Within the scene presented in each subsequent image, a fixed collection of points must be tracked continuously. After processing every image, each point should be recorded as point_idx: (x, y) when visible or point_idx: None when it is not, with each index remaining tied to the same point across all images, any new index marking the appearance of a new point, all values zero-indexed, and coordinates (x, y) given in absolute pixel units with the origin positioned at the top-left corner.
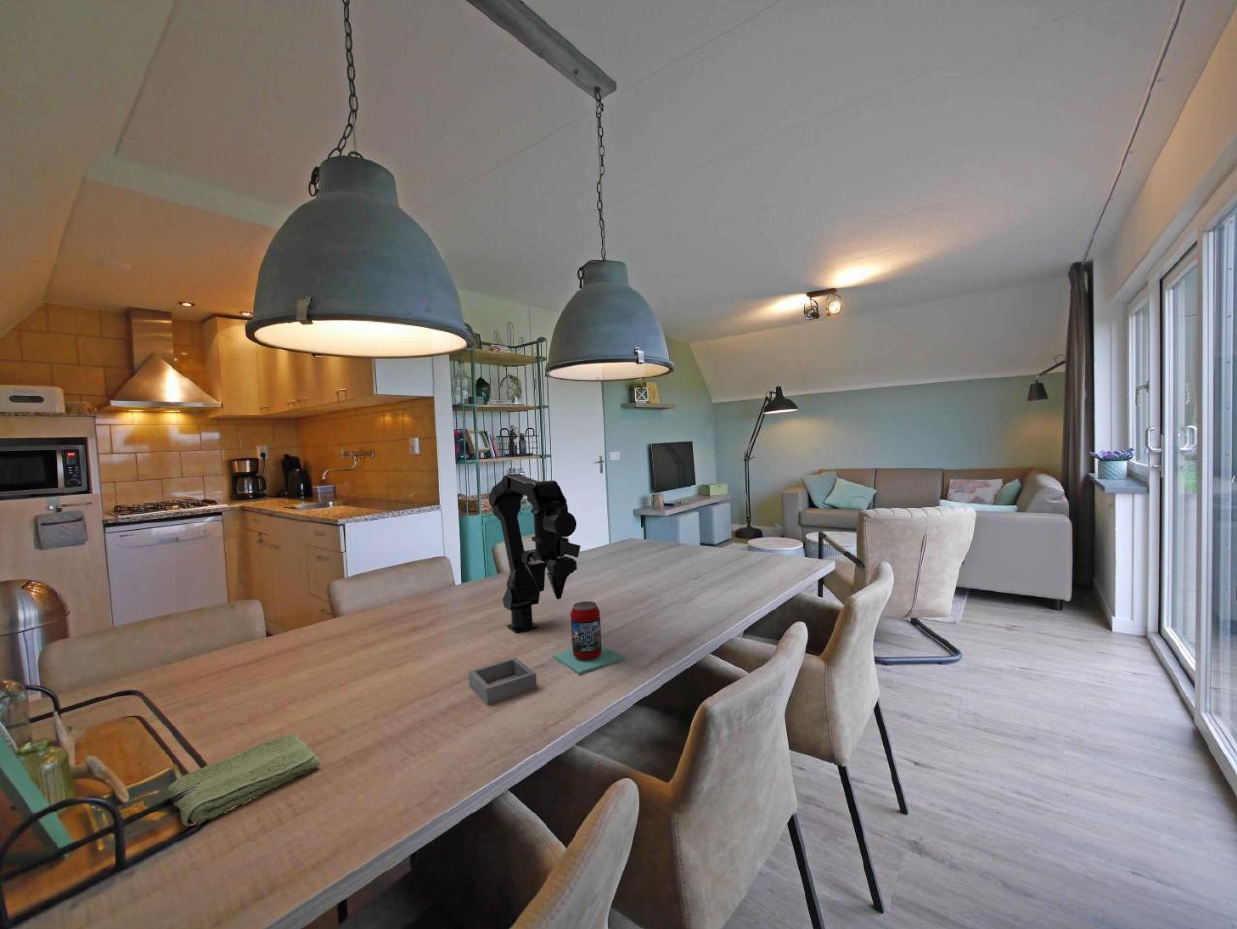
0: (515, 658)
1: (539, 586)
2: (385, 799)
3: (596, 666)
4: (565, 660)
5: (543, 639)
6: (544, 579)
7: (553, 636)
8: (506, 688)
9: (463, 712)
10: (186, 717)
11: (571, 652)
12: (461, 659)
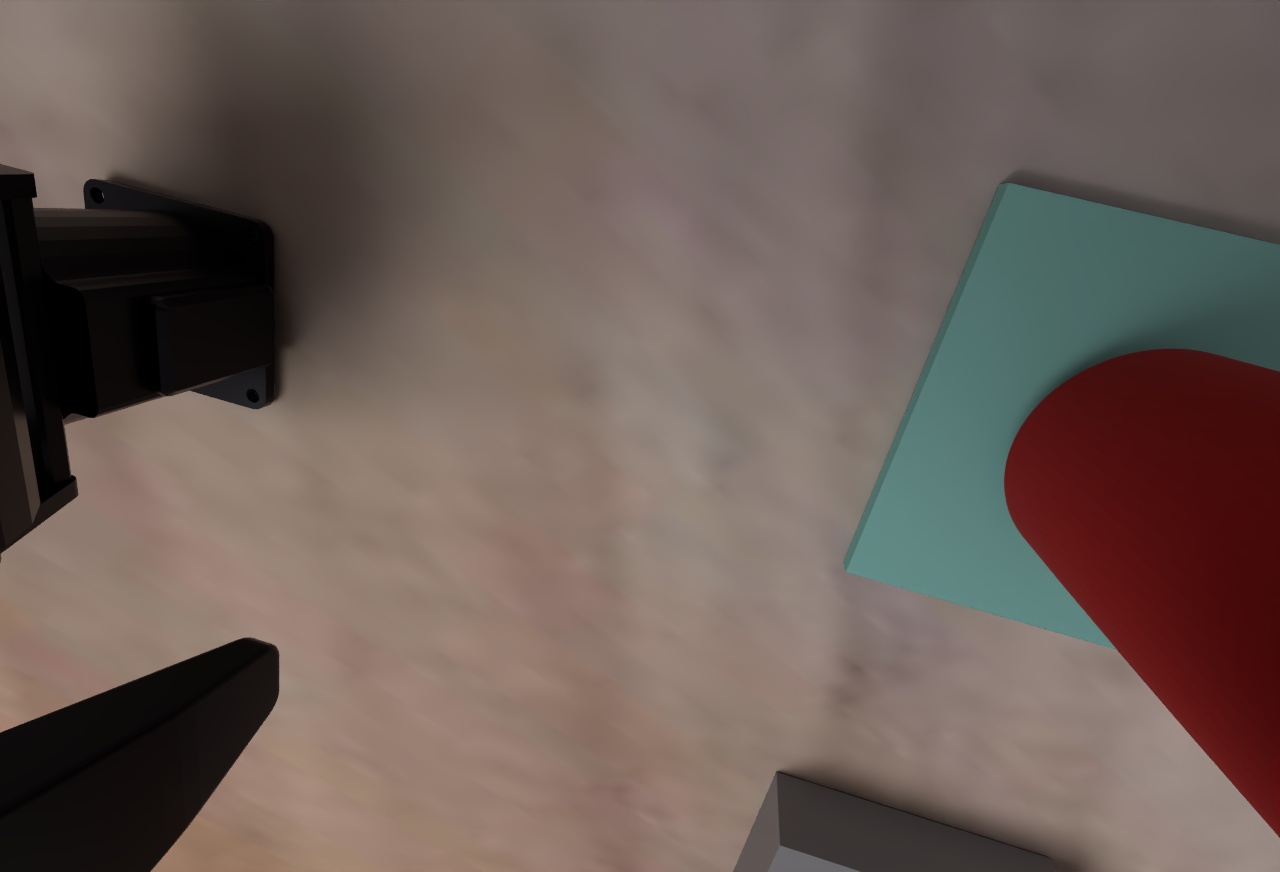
0: (795, 855)
1: (196, 798)
2: None
3: None
4: (999, 594)
5: (516, 370)
6: (15, 815)
7: (527, 280)
8: None
9: None
10: None
11: (944, 475)
12: (412, 786)
